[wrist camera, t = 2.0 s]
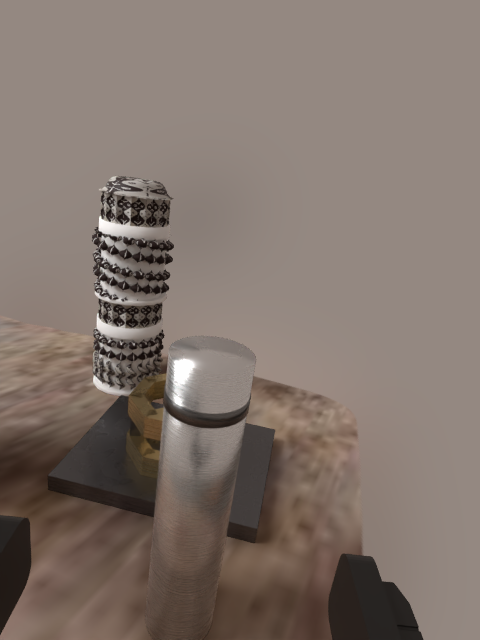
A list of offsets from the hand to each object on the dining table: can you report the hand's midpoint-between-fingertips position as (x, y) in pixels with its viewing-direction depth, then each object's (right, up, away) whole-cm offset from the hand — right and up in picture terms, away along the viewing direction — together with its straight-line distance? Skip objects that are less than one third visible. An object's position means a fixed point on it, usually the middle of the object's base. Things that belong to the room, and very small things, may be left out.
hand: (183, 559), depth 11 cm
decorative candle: (-13, -2, +44) cm, 46 cm away
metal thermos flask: (-3, -13, +17) cm, 22 cm away
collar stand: (-5, -8, +31) cm, 32 cm away
